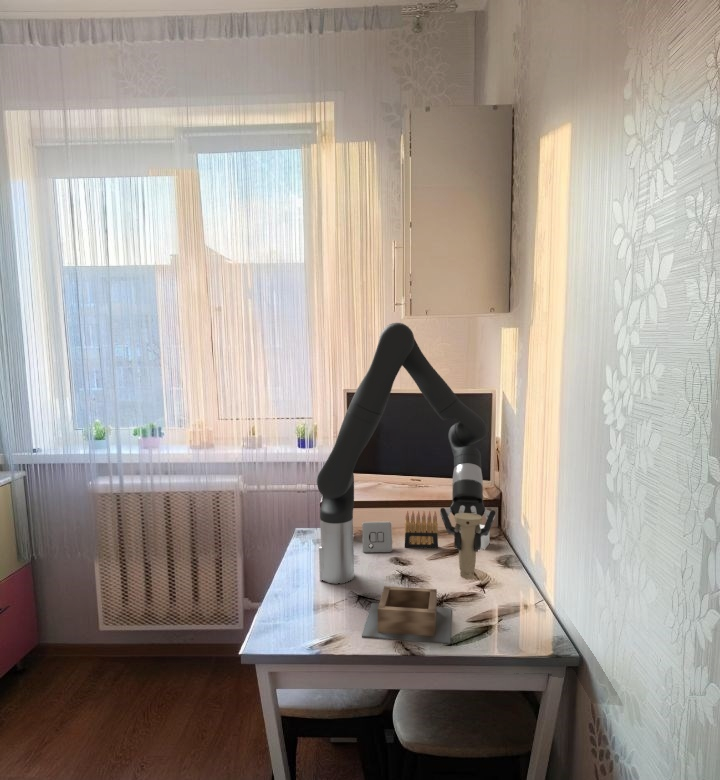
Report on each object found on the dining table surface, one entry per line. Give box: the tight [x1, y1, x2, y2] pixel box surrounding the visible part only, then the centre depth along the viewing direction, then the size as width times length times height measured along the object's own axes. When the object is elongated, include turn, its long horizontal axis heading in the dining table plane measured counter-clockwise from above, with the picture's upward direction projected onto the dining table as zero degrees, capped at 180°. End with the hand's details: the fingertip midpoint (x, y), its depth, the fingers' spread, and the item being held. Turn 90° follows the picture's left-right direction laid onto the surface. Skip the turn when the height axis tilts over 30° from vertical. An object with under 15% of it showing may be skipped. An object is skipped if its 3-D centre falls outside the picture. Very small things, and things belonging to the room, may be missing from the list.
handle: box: [453, 513, 483, 580], centre depth 139 cm, size 5×6×15 cm
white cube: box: [479, 524, 491, 551], centre depth 188 cm, size 6×6×6 cm
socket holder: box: [361, 585, 452, 645], centre depth 139 cm, size 20×16×6 cm
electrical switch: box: [361, 521, 393, 553], centre depth 186 cm, size 9×5×9 cm, turn 90°
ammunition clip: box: [404, 510, 439, 549], centre depth 187 cm, size 11×2×12 cm, turn 85°
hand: (467, 549), depth 137 cm, fingers closed on handle, 3 cm apart
